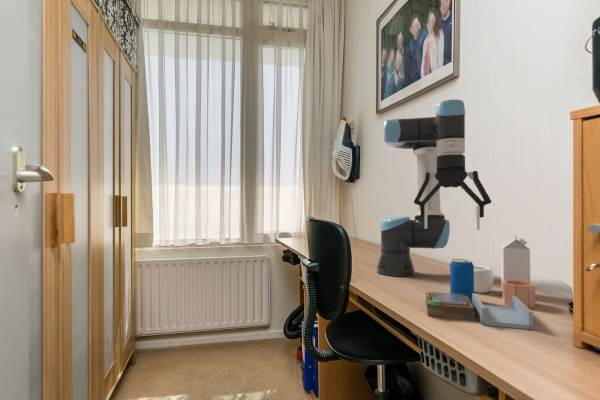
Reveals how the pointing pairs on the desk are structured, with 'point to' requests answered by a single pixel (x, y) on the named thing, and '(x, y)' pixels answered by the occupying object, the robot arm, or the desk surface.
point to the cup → (518, 292)
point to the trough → (504, 314)
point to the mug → (483, 279)
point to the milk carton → (515, 260)
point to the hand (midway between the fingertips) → (451, 229)
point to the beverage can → (462, 277)
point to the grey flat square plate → (449, 298)
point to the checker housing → (449, 309)
